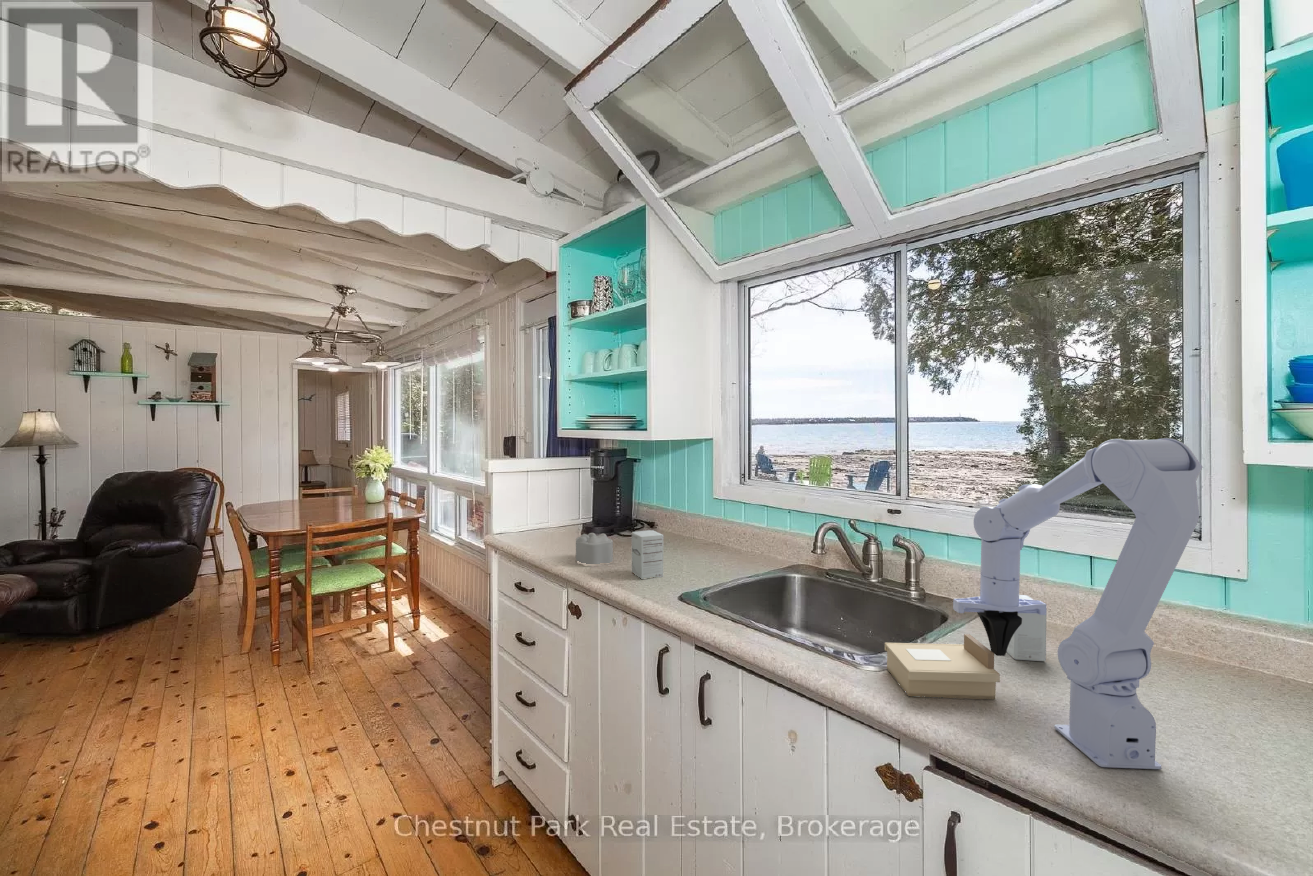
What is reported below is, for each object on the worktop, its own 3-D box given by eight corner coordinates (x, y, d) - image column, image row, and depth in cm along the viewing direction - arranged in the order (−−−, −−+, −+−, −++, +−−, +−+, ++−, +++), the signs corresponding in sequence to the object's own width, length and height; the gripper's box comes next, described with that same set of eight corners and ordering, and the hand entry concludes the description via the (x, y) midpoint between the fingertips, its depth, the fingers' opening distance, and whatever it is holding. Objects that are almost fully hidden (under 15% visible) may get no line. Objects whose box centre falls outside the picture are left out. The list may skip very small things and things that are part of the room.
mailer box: (995, 699, 90) (995, 675, 90) (908, 697, 91) (908, 673, 91) (965, 671, 100) (965, 649, 100) (886, 669, 101) (887, 648, 101)
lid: (999, 682, 89) (1000, 658, 89) (909, 679, 90) (909, 655, 90) (964, 652, 101) (965, 630, 101) (884, 650, 102) (885, 628, 102)
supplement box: (631, 573, 163) (630, 531, 162) (653, 570, 166) (653, 529, 165) (640, 580, 156) (640, 536, 156) (664, 577, 159) (664, 534, 159)
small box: (1046, 662, 104) (1047, 608, 103) (1013, 660, 105) (1015, 606, 104) (1026, 645, 112) (1028, 594, 111) (996, 643, 113) (997, 592, 112)
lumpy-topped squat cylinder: (588, 568, 169) (588, 540, 168) (568, 559, 179) (568, 533, 179) (617, 562, 175) (616, 536, 175) (595, 554, 185) (595, 529, 185)
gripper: (1029, 570, 98) (1027, 644, 98) (945, 568, 99) (944, 642, 99) (1055, 582, 91) (1053, 662, 91) (965, 580, 92) (963, 660, 92)
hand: (997, 653), depth 95 cm, fingers closed
